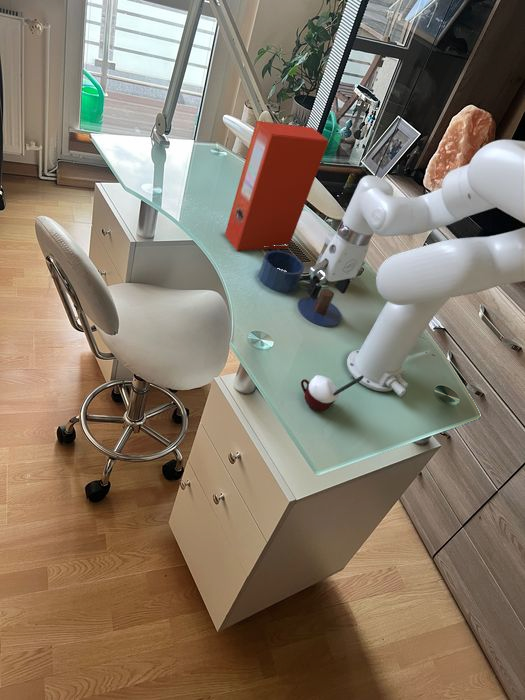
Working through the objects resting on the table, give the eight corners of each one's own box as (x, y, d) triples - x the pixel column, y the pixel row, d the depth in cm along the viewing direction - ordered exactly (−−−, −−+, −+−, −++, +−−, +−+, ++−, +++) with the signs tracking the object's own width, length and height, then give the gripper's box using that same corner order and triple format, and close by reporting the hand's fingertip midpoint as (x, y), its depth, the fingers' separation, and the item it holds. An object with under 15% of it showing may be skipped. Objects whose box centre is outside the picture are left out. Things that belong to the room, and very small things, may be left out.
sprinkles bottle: (328, 284, 137) (347, 242, 129) (315, 286, 135) (334, 243, 126) (318, 274, 140) (336, 232, 131) (306, 276, 137) (324, 233, 129)
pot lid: (348, 324, 126) (359, 303, 122) (315, 332, 119) (326, 311, 115) (320, 296, 131) (329, 276, 127) (287, 303, 125) (296, 281, 121)
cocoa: (292, 391, 101) (312, 349, 94) (315, 385, 105) (336, 343, 97) (319, 427, 96) (343, 384, 89) (342, 418, 100) (367, 377, 92)
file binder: (288, 249, 145) (328, 140, 125) (237, 251, 136) (272, 134, 116) (274, 234, 150) (311, 126, 130) (224, 235, 141) (255, 119, 121)
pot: (303, 291, 131) (312, 271, 127) (273, 297, 125) (280, 276, 121) (280, 268, 136) (288, 248, 132) (250, 273, 130) (257, 252, 126)
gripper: (338, 246, 104) (308, 308, 115) (390, 239, 114) (359, 297, 125) (316, 225, 107) (289, 288, 119) (369, 221, 118) (340, 279, 129)
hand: (325, 292), depth 122 cm, fingers open, 9 cm apart
